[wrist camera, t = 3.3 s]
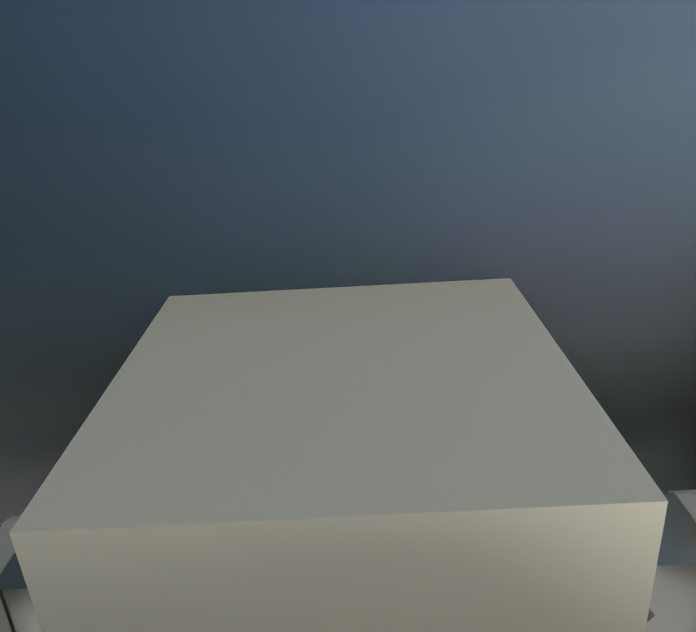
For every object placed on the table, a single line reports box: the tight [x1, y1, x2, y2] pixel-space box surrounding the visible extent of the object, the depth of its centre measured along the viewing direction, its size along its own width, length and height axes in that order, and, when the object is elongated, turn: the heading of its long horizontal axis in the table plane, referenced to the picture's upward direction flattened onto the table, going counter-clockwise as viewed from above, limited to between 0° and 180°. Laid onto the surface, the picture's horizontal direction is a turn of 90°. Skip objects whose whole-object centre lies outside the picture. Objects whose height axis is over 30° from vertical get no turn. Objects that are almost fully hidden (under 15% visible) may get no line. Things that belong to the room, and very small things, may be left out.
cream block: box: [9, 278, 668, 632], centre depth 10 cm, size 6×6×6 cm
